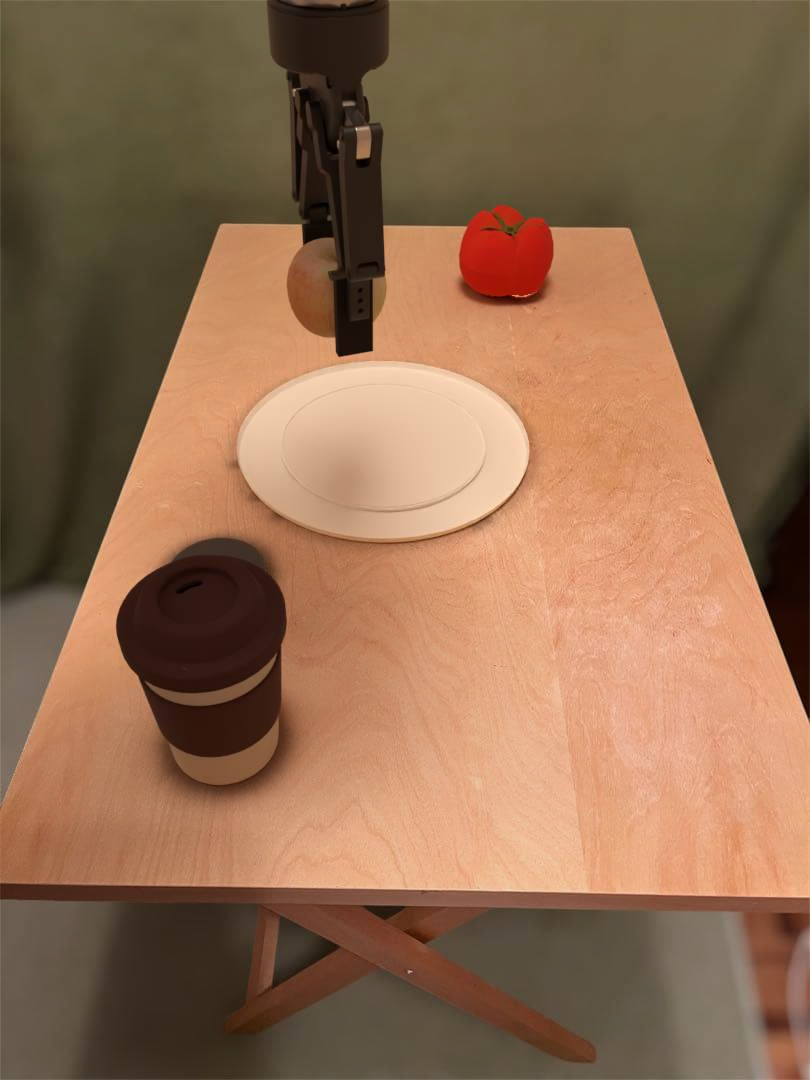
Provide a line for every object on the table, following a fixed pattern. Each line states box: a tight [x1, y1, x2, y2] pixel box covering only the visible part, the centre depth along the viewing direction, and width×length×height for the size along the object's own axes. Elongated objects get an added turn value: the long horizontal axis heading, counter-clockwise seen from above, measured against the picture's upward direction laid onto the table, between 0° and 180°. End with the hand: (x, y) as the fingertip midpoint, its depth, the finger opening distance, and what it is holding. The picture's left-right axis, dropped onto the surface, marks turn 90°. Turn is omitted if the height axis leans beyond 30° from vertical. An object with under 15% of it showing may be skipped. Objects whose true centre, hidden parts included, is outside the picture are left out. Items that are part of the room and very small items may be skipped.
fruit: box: [286, 238, 387, 339], centre depth 69 cm, size 8×7×8 cm
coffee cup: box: [115, 555, 288, 786], centre depth 58 cm, size 10×10×15 cm
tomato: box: [458, 204, 555, 299], centre depth 109 cm, size 11×12×9 cm
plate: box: [236, 360, 530, 543], centre depth 88 cm, size 28×28×1 cm
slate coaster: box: [170, 537, 267, 572], centre depth 75 cm, size 8×8×1 cm
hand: (338, 325), depth 71 cm, fingers closed on fruit, 7 cm apart
